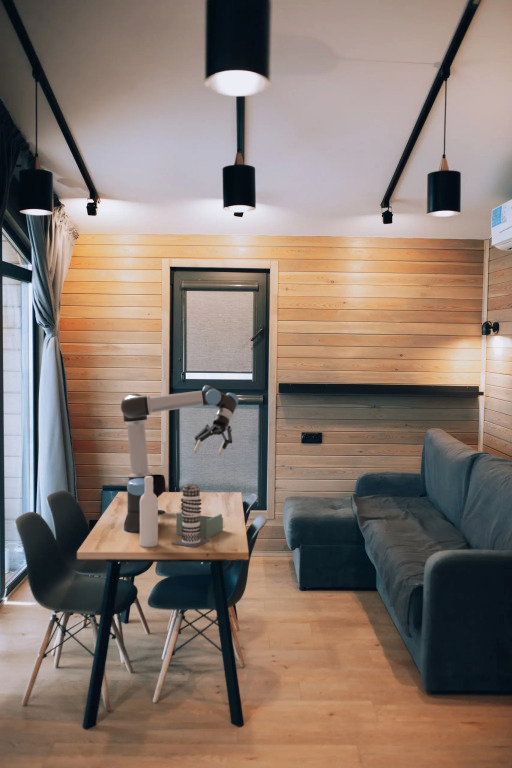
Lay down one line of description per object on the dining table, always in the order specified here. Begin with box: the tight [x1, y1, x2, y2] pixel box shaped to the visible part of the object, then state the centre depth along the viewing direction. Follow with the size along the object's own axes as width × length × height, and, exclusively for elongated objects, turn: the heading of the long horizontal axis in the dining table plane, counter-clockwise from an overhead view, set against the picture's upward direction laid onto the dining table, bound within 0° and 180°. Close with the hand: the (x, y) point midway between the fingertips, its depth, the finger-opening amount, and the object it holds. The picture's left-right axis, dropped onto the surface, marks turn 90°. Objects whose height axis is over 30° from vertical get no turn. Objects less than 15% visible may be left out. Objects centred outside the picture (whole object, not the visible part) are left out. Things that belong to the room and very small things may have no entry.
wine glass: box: [152, 473, 167, 516], centre depth 342 cm, size 10×10×20 cm
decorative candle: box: [180, 483, 202, 544], centre depth 283 cm, size 9×9×25 cm
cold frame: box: [175, 512, 224, 539], centre depth 301 cm, size 16×16×10 cm
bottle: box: [139, 476, 159, 548], centre depth 279 cm, size 8×8×30 cm
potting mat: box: [171, 538, 210, 548], centre depth 283 cm, size 12×12×1 cm
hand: (207, 452), depth 306 cm, fingers open, 13 cm apart
